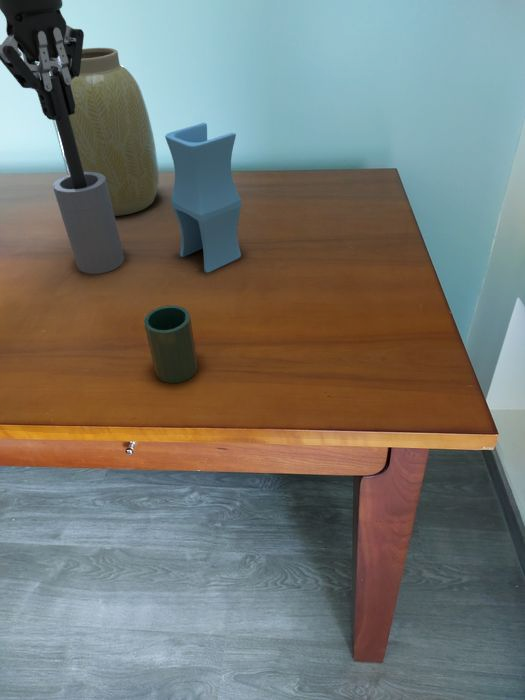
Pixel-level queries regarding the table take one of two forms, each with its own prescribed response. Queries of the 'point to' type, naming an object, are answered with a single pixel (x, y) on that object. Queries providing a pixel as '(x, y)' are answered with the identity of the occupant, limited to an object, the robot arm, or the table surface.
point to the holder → (171, 343)
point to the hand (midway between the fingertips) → (61, 116)
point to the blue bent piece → (205, 195)
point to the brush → (68, 138)
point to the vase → (114, 130)
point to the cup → (90, 223)
